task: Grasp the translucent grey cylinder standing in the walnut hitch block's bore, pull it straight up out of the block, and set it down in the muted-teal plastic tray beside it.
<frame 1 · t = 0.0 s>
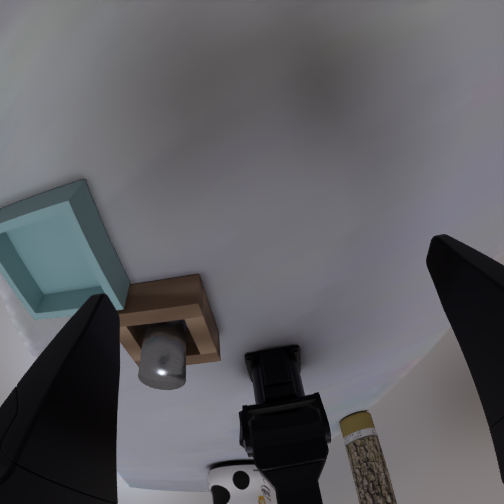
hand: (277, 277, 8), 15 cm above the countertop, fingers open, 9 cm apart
translucent grey cylinder: (164, 343, 26), in the hitch block
hitch block: (167, 312, 29), on the countertop
tray: (58, 246, 23), on the countertop
milk container: (237, 464, 72), on the countertop
bark textured cylinder: (354, 416, 56), on the countertop
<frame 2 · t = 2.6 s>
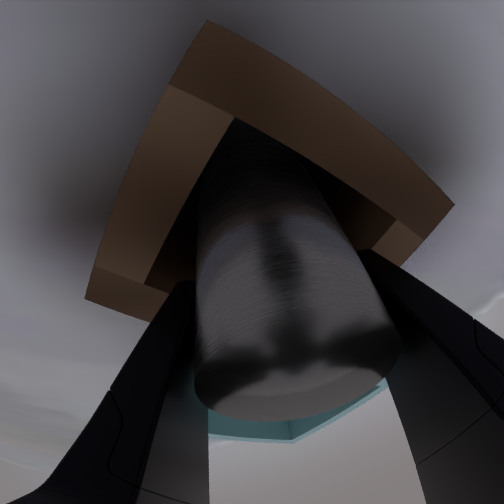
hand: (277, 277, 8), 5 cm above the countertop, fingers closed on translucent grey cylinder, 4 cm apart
translucent grey cylinder: (272, 258, 8), in the hitch block, touching gripper
hitch block: (255, 193, 11), on the countertop
tray: (270, 368, 19), on the countertop
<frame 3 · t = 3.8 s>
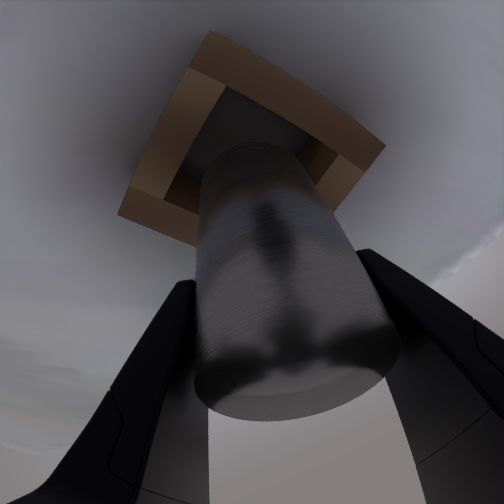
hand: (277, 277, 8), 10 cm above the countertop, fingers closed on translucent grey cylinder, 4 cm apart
translucent grey cylinder: (271, 257, 8), point 9 cm above the countertop, touching gripper
hitch block: (243, 147, 15), on the countertop
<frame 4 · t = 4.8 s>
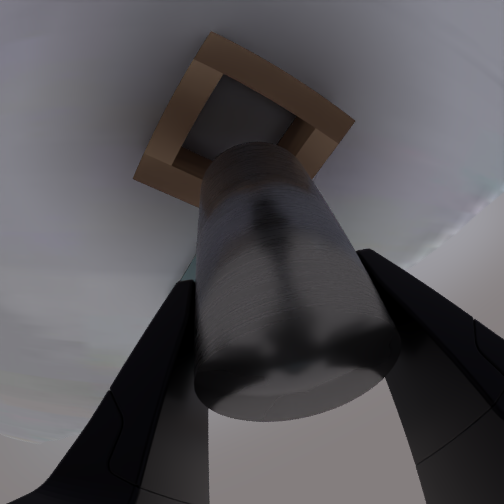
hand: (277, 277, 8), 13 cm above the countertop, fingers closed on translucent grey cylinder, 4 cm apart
translucent grey cylinder: (271, 257, 8), point 12 cm above the countertop, touching gripper
hitch block: (238, 127, 18), on the countertop
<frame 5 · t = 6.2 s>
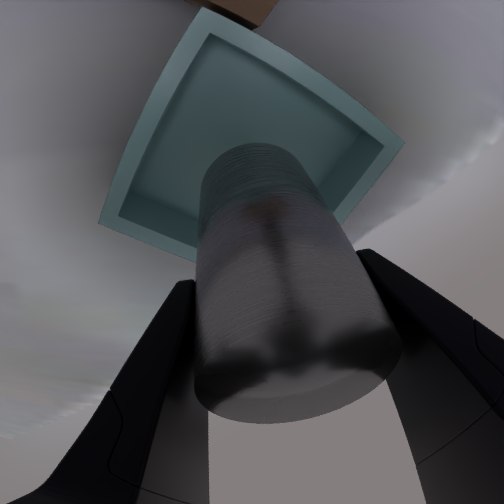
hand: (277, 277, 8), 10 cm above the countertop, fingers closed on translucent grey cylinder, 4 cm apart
translucent grey cylinder: (272, 259, 8), point 9 cm above the countertop, touching gripper
tray: (243, 150, 15), on the countertop
when the fingers open (7 cm above the countertop, at t = 7.4 s): translucent grey cylinder drops 1 cm, resting on tray.
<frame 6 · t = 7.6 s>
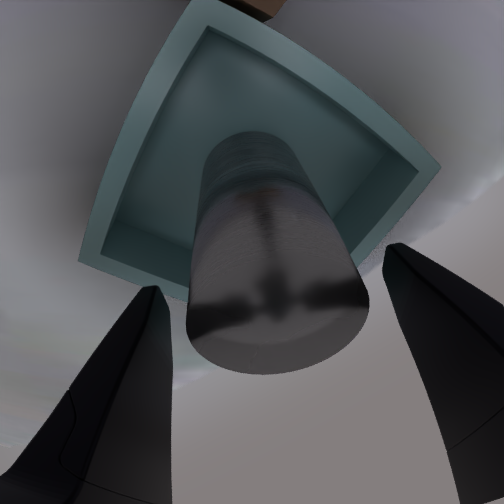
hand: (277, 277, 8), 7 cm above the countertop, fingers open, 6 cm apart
translucent grey cylinder: (261, 229, 9), in the tray, point 5 cm above the countertop
tray: (249, 170, 13), on the countertop
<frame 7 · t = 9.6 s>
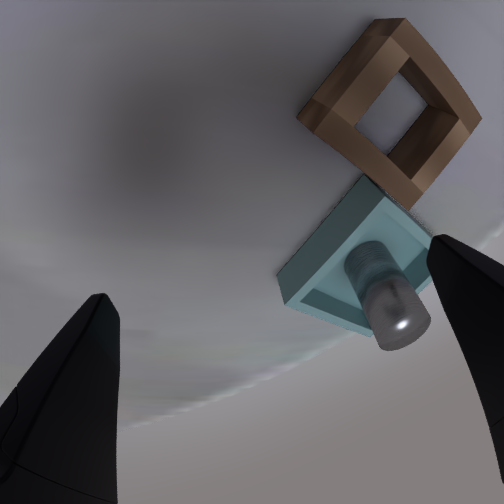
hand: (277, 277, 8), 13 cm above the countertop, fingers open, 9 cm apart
translucent grey cylinder: (384, 293, 21), in the tray, point 5 cm above the countertop
hitch block: (384, 107, 17), on the countertop
tray: (362, 254, 25), on the countertop
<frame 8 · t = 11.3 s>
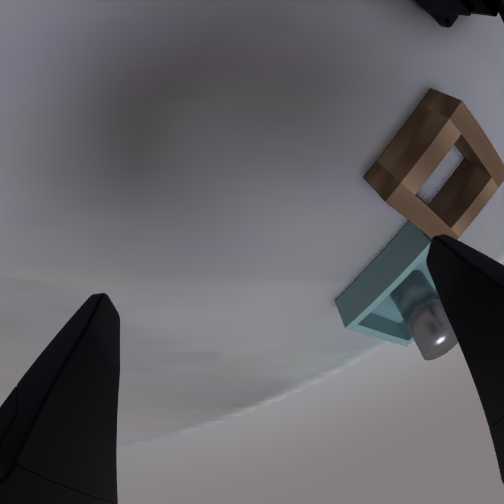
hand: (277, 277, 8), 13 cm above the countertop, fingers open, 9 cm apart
translucent grey cylinder: (424, 313, 24), in the tray, point 5 cm above the countertop
hitch block: (431, 164, 20), on the countertop
tray: (403, 280, 28), on the countertop
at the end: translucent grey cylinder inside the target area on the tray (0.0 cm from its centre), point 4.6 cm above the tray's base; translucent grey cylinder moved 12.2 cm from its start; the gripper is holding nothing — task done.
